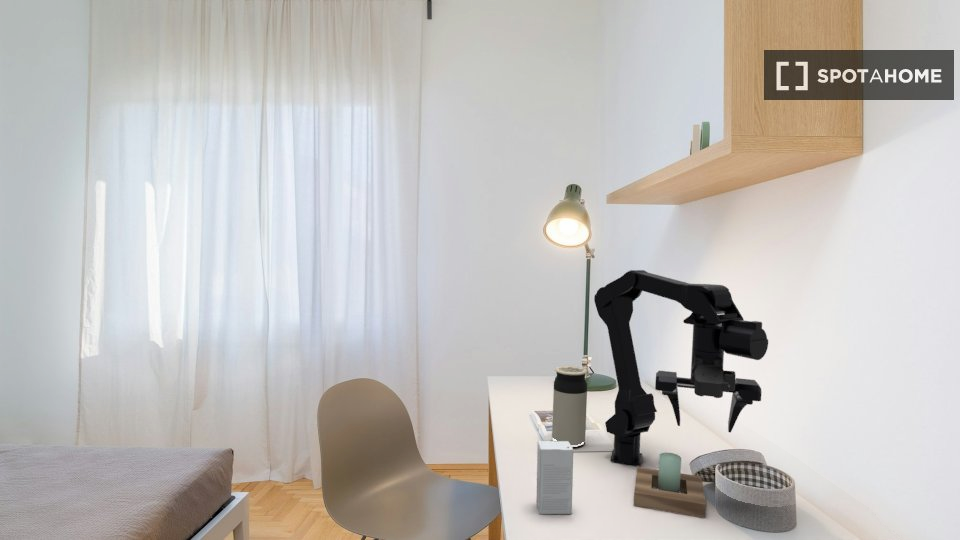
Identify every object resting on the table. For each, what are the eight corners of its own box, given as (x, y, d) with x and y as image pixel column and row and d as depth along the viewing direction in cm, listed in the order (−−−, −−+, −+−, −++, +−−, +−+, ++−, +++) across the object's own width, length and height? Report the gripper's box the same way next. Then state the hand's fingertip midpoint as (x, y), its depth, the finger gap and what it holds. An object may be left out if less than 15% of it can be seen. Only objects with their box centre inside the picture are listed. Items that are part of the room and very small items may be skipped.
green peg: (657, 490, 109) (659, 451, 108) (679, 494, 107) (681, 454, 107) (657, 499, 105) (659, 458, 104) (679, 503, 104) (681, 462, 103)
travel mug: (584, 450, 128) (587, 374, 127) (550, 447, 130) (553, 372, 129) (585, 438, 136) (588, 366, 135) (553, 435, 138) (555, 364, 137)
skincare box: (567, 503, 103) (569, 440, 102) (572, 515, 98) (574, 449, 98) (535, 503, 102) (537, 440, 102) (538, 514, 98) (540, 449, 97)
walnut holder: (636, 478, 114) (637, 466, 114) (701, 488, 110) (701, 476, 110) (633, 505, 102) (634, 492, 102) (705, 518, 98) (705, 504, 98)
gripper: (656, 353, 102) (652, 435, 103) (768, 363, 96) (763, 450, 97) (657, 342, 112) (654, 417, 113) (758, 351, 106) (754, 430, 107)
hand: (703, 428), depth 107 cm, fingers open, 9 cm apart
